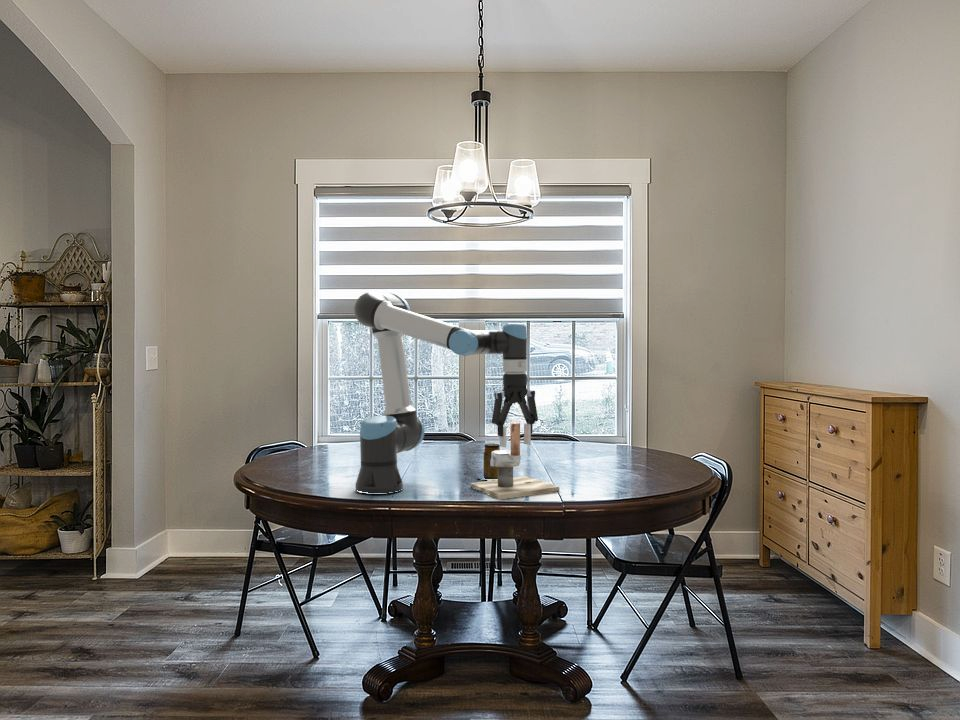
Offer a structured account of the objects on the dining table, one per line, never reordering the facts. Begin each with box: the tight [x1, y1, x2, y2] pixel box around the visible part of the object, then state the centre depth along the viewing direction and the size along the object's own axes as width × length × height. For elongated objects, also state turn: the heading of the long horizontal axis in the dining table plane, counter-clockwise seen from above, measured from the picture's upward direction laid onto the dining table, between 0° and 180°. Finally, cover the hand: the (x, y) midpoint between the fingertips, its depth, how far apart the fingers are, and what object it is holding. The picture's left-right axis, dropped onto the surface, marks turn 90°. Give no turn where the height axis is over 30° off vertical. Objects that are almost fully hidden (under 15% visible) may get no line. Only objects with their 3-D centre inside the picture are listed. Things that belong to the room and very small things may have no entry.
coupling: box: [490, 422, 522, 468], centre depth 218 cm, size 12×10×14 cm
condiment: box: [482, 443, 501, 479], centre depth 237 cm, size 7×8×12 cm
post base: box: [469, 467, 560, 501], centre depth 220 cm, size 19×22×8 cm
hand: (515, 445), depth 214 cm, fingers open, 8 cm apart
